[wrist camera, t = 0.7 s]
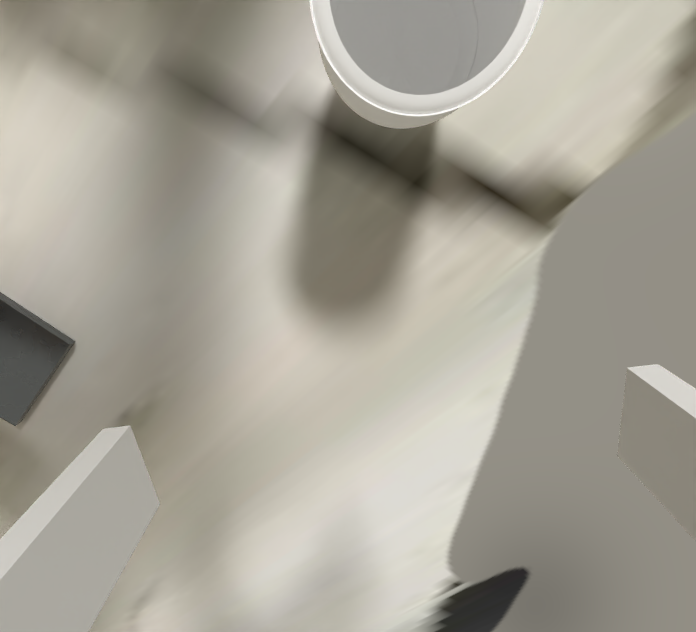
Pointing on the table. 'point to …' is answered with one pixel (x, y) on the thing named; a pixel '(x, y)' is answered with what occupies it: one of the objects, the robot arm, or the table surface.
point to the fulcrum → (26, 358)
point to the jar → (419, 53)
